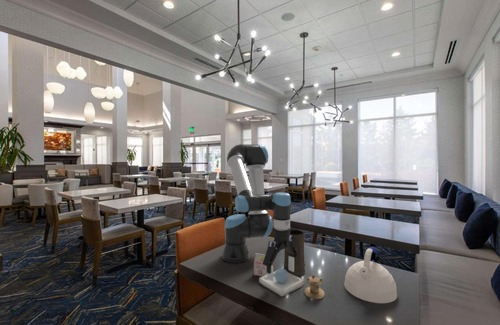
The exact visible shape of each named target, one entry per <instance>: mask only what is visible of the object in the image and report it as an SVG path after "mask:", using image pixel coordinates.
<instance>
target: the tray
mask: <svg viewBox="0 0 500 325" xmlns="http://www.w3.org/2000/svg"><path fill="white" fill-rule="evenodd" d="M275 272H276V270H275V271H273V281H270V280H268V279H267V275H265V276H263V277H261V276H259V278H258V283H259V284H260V285H262V286H264V287H266V288H267V289H268V290H270V291H272V292H274V293H276V294H277V295H278V296H280V297H284V296H286V295H288V294H291V293H292V292H294V291H296V290H298V289H299V288H301V287H303V286H305V279H302V278H301V277H299V276H294V275H292V274H290V273H288V272H287V273H288V280H287V281H286V282H285V283H279V282H278V281H277V280H276V279H275Z"/></svg>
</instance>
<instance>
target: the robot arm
mask: <svg viewBox="0 0 500 325" xmlns="http://www.w3.org/2000/svg"><path fill="white" fill-rule="evenodd" d="M226 162H227V166H228V167H229V168H230V171H231V174H232V178H233V181H234V186H235V189H236V190H235V191H236V193H237V195H236V196H235V198H234V206H235V210H236V211H237V212H239V213H247V212H248V215H247V216H246V214H239V213H237V214H232V215H230V216H228V217H226V219H225V220H224V246H223V250H222V252H221V259H222V260H223V261H224V262H226V263H229V264H230V263H231V264H239V263H244V262H246V261H247V260H249V259H250V253H249V250H248V249H249V248H248V246H247V239H253V238H264V237H268V236H270V235H271V233H272V236H273V238H274V239H273V241H271V240H269V241H268V243H267V248H266V252H265V254H264V255H265V258H264V260H263V264H264V265H266V266H267V279H268V280H270V281H273V272H274V265H273V264H274V262H275V260H276V257H277V256H278V254H279V253H280V251H283V250H285V249H286V250H287V251H288V253H289V254H290V255H291V256H289V267H288V270H290V271H292V272H294V262H295V257H297V255H296V254H298V251H297V248H296V245H295V243H294V237H293V236H290V230H291V203H292V201H291V195H290V194H289V193H288V192H274V193H273V192H267V193H266V194H265V181H264V179H265V178H264V168H265V167H266V165H267V164H268V163H269V152H268V149H267V148H266V146H265V145H263V144H258V143H255V144H254V143H253V144H247V143H246V144H243V143H242V144H241V143H239V144H236V145H235V146H233V147H232V148H231V149H230V150H229V152H228V153H227V157H226ZM246 169H247V170H248V173H247V170H246ZM268 211H272V212H273V214H272V216H271V215H270V214H269V212H268ZM288 242H289V244H290V245H289V244H288ZM290 247H291V248H290ZM269 262H270V263H269Z"/></svg>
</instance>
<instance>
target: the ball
mask: <svg viewBox="0 0 500 325" xmlns="http://www.w3.org/2000/svg"><path fill="white" fill-rule="evenodd" d="M283 268H284V267H283ZM283 268H282V267H281V268H277V269H276V270H275V271H276V272H275V271H274V272H275V279H276V280H277V281H278V282H279V283H285V282H286V281H287V280H288V273H287V271H286V270H285V269H283Z"/></svg>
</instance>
